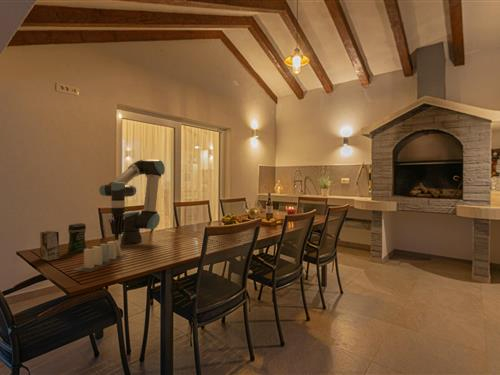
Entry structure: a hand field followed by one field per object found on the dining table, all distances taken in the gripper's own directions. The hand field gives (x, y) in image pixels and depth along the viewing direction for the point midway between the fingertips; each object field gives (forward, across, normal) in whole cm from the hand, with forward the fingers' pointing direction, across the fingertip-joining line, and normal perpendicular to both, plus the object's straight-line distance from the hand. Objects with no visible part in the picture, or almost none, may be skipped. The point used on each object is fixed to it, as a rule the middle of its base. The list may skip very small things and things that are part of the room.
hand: (118, 244), depth 164 cm
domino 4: (+7, +5, 0) cm, 9 cm away
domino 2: (+7, +16, 0) cm, 18 cm away
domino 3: (+7, +11, 0) cm, 13 cm away
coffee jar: (+8, -2, -33) cm, 34 cm away
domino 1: (+7, +22, 0) cm, 23 cm away
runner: (+8, +12, 0) cm, 14 cm away
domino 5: (+7, 0, 0) cm, 7 cm away
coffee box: (+8, +15, -36) cm, 40 cm away
